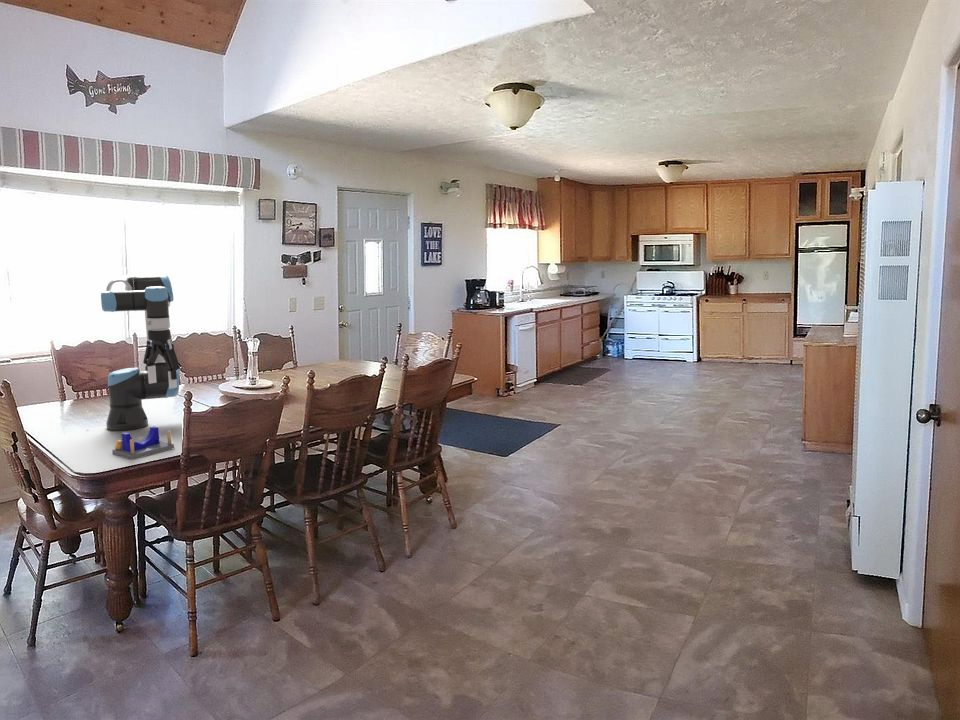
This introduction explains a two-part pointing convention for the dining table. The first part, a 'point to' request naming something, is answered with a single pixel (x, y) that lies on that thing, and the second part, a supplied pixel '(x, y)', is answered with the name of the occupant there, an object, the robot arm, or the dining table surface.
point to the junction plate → (145, 449)
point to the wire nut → (119, 445)
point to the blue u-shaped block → (148, 441)
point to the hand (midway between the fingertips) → (162, 385)
